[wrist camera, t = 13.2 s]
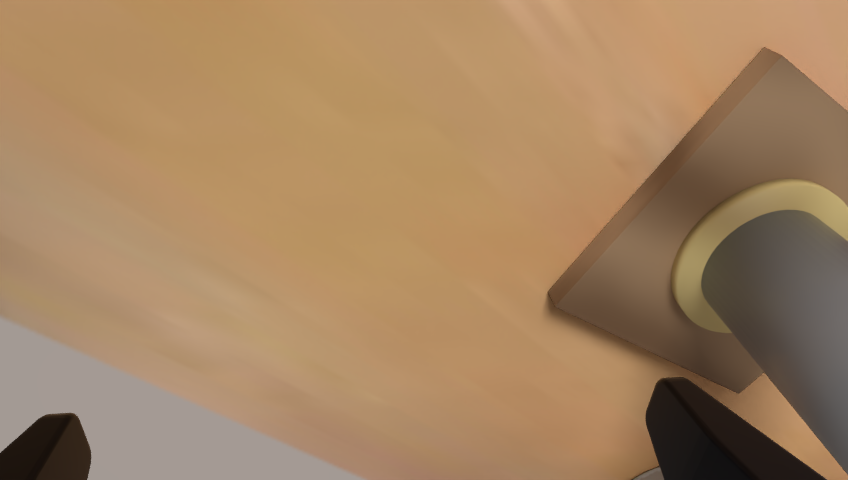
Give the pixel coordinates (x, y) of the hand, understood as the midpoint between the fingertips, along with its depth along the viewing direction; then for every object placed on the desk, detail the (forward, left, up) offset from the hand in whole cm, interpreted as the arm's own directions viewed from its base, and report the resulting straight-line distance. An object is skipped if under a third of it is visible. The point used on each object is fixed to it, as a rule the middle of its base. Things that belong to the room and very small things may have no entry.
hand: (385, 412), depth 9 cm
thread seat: (+3, -17, -13) cm, 22 cm away
